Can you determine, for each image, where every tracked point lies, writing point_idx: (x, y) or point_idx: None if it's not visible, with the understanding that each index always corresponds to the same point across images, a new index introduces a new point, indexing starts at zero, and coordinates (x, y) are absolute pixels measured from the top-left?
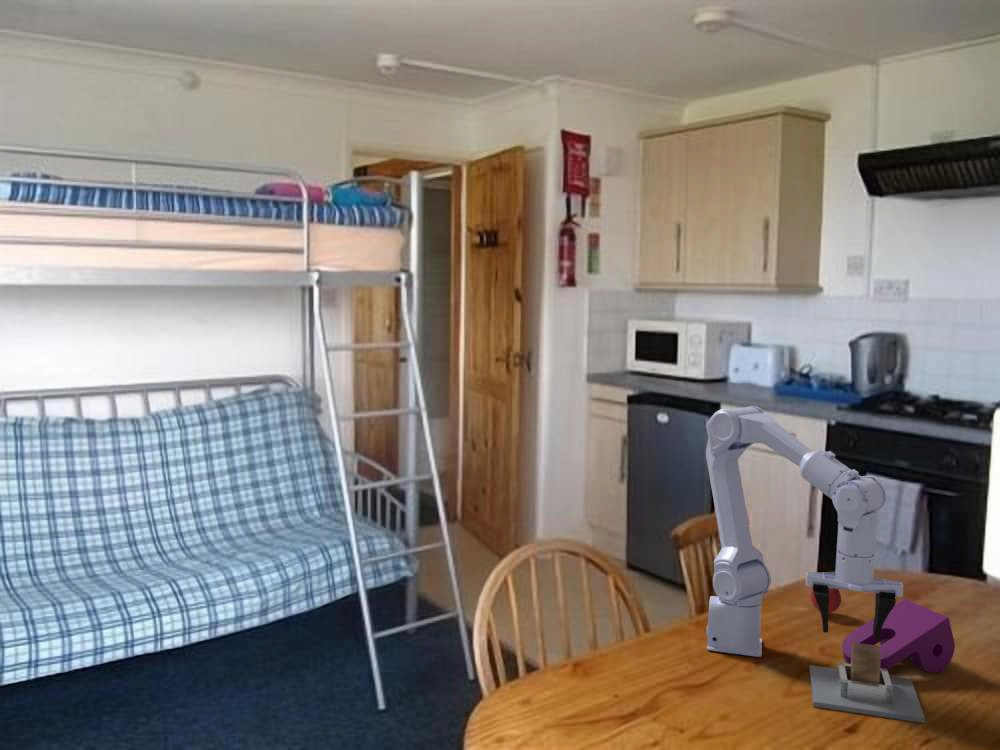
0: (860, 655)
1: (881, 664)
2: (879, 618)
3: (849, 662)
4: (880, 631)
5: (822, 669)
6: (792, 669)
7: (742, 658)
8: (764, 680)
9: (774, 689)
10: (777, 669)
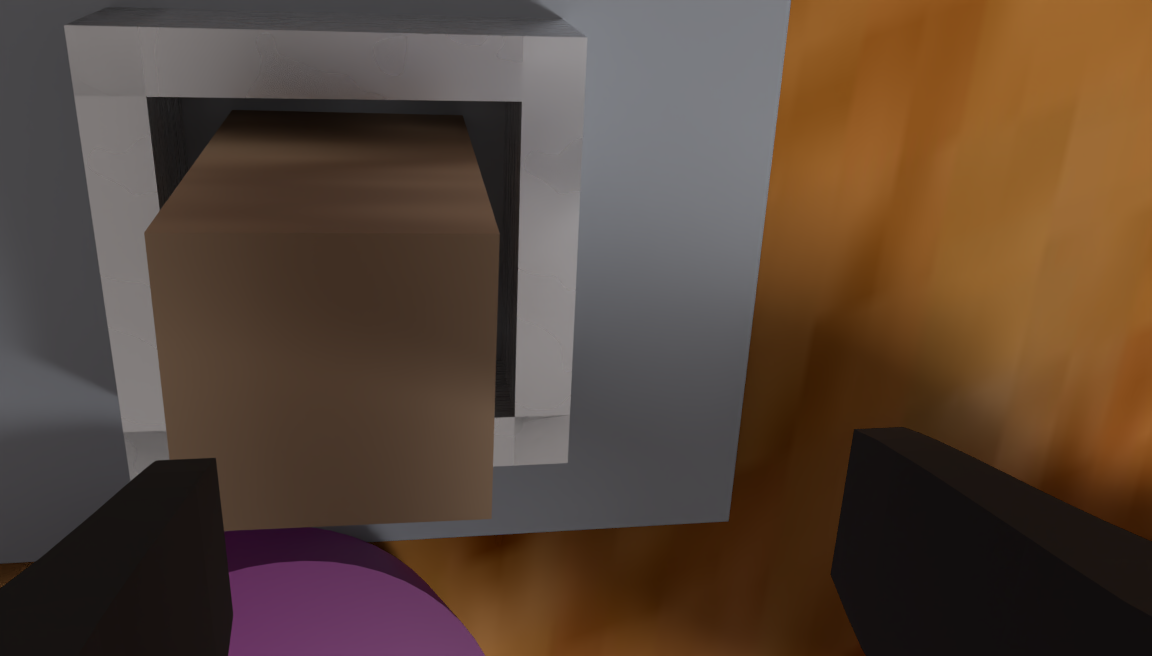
0: (412, 223)
1: None
2: (42, 642)
3: (444, 603)
4: (91, 516)
5: (645, 484)
6: (835, 466)
7: (1136, 512)
8: (1073, 216)
9: (1035, 81)
10: (940, 429)
